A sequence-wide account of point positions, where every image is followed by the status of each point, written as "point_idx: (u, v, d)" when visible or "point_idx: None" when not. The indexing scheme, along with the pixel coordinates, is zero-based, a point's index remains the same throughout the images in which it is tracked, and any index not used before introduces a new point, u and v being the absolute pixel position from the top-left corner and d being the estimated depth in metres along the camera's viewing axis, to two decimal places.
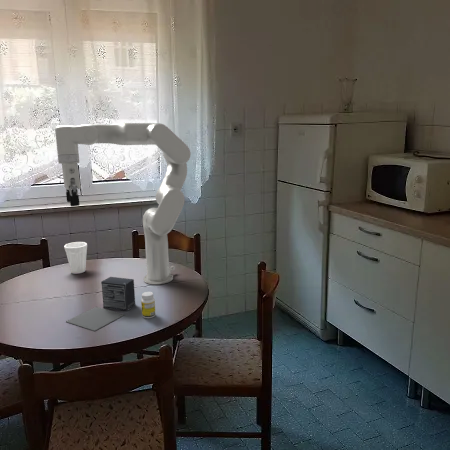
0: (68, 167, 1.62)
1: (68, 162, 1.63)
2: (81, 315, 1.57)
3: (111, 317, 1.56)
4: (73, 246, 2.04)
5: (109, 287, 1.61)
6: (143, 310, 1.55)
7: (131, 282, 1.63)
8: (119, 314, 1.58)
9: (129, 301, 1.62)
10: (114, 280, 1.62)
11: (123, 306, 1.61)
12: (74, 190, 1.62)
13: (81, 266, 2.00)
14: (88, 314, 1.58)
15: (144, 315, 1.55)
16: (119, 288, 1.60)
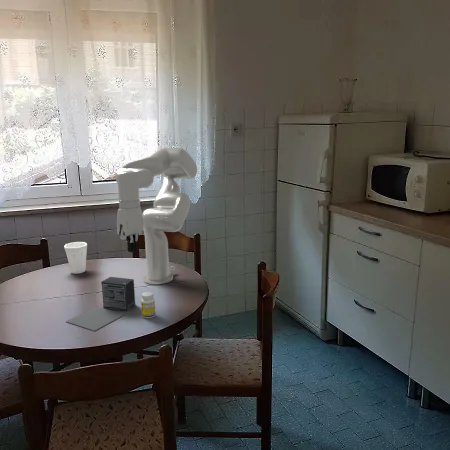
0: None
1: None
2: (81, 315, 1.57)
3: (111, 317, 1.56)
4: (73, 246, 2.04)
5: (109, 287, 1.61)
6: (143, 310, 1.55)
7: (131, 282, 1.63)
8: (119, 314, 1.58)
9: (129, 301, 1.62)
10: (114, 280, 1.62)
11: (123, 306, 1.61)
12: None
13: (81, 266, 2.00)
14: (88, 314, 1.58)
15: (144, 315, 1.55)
16: (119, 288, 1.60)
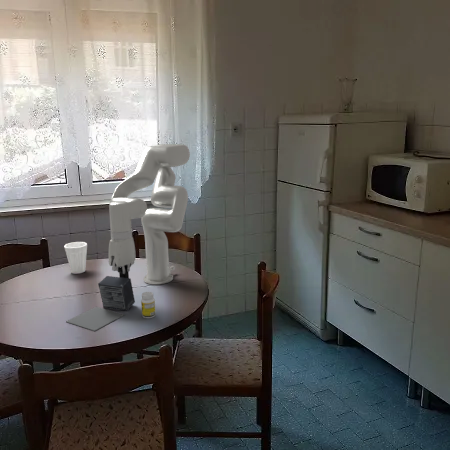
0: None
1: None
2: (81, 315, 1.57)
3: (111, 317, 1.56)
4: (73, 246, 2.04)
5: (106, 289, 1.60)
6: (143, 310, 1.55)
7: (128, 282, 1.61)
8: (119, 314, 1.58)
9: (128, 300, 1.62)
10: (111, 281, 1.60)
11: (122, 306, 1.61)
12: None
13: (81, 266, 2.00)
14: (88, 314, 1.58)
15: (144, 315, 1.55)
16: (116, 290, 1.58)
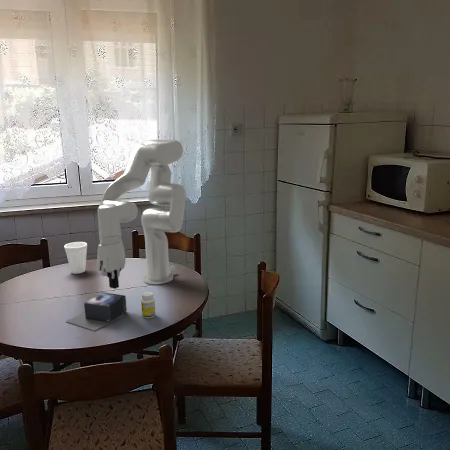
0: None
1: None
2: (81, 315, 1.57)
3: None
4: (73, 246, 2.04)
5: None
6: (143, 310, 1.55)
7: (110, 310, 1.51)
8: None
9: (121, 308, 1.57)
10: (95, 315, 1.53)
11: None
12: None
13: (81, 266, 2.00)
14: None
15: (144, 315, 1.55)
16: None
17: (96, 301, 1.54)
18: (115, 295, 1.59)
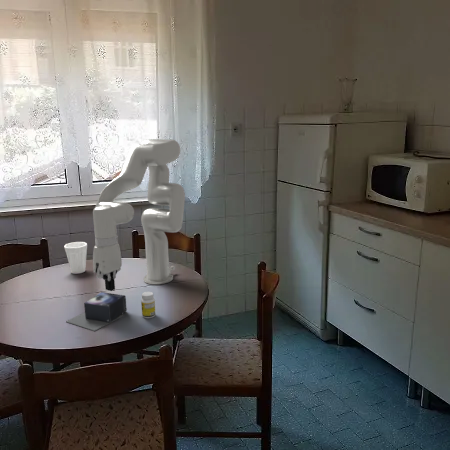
0: None
1: None
2: (81, 315, 1.57)
3: None
4: (73, 246, 2.04)
5: None
6: (143, 310, 1.55)
7: (110, 310, 1.51)
8: None
9: (121, 308, 1.57)
10: (95, 315, 1.53)
11: None
12: None
13: (81, 266, 2.00)
14: None
15: (144, 315, 1.55)
16: None
17: (96, 301, 1.54)
18: (115, 295, 1.59)
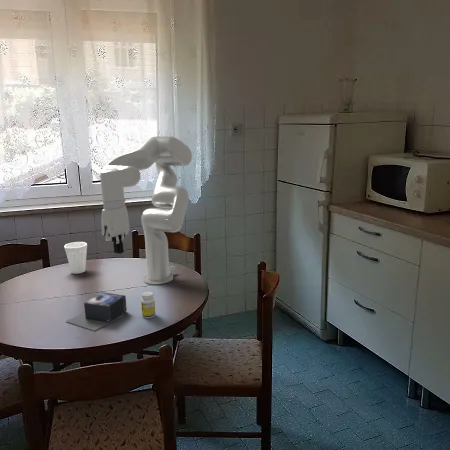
0: None
1: None
2: (81, 315, 1.57)
3: None
4: (73, 246, 2.04)
5: None
6: (143, 310, 1.55)
7: (110, 310, 1.51)
8: None
9: (121, 308, 1.57)
10: (95, 315, 1.53)
11: None
12: None
13: (81, 266, 2.00)
14: None
15: (144, 315, 1.55)
16: None
17: (96, 301, 1.54)
18: (115, 295, 1.59)
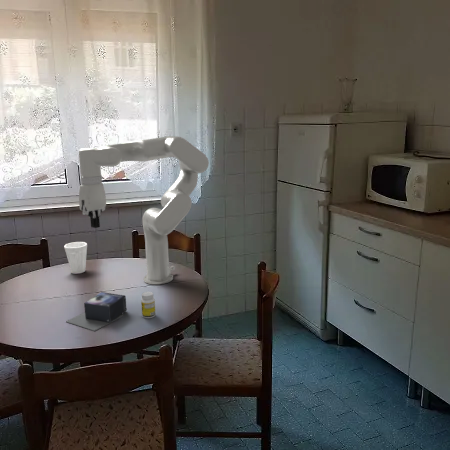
0: None
1: None
2: (81, 315, 1.57)
3: None
4: (73, 246, 2.04)
5: None
6: (143, 310, 1.55)
7: (110, 310, 1.51)
8: None
9: (121, 308, 1.57)
10: (95, 315, 1.53)
11: None
12: None
13: (81, 266, 2.00)
14: None
15: (144, 315, 1.55)
16: None
17: (96, 301, 1.54)
18: (115, 295, 1.59)
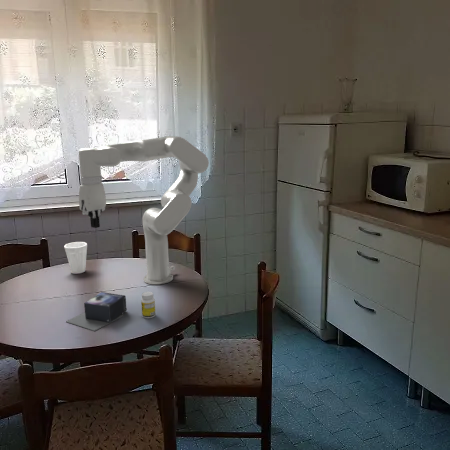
0: None
1: None
2: (81, 315, 1.57)
3: None
4: (73, 246, 2.04)
5: None
6: (143, 310, 1.55)
7: (110, 310, 1.51)
8: None
9: (121, 308, 1.57)
10: (95, 315, 1.53)
11: None
12: None
13: (81, 266, 2.00)
14: None
15: (144, 315, 1.55)
16: None
17: (96, 301, 1.54)
18: (115, 295, 1.59)
